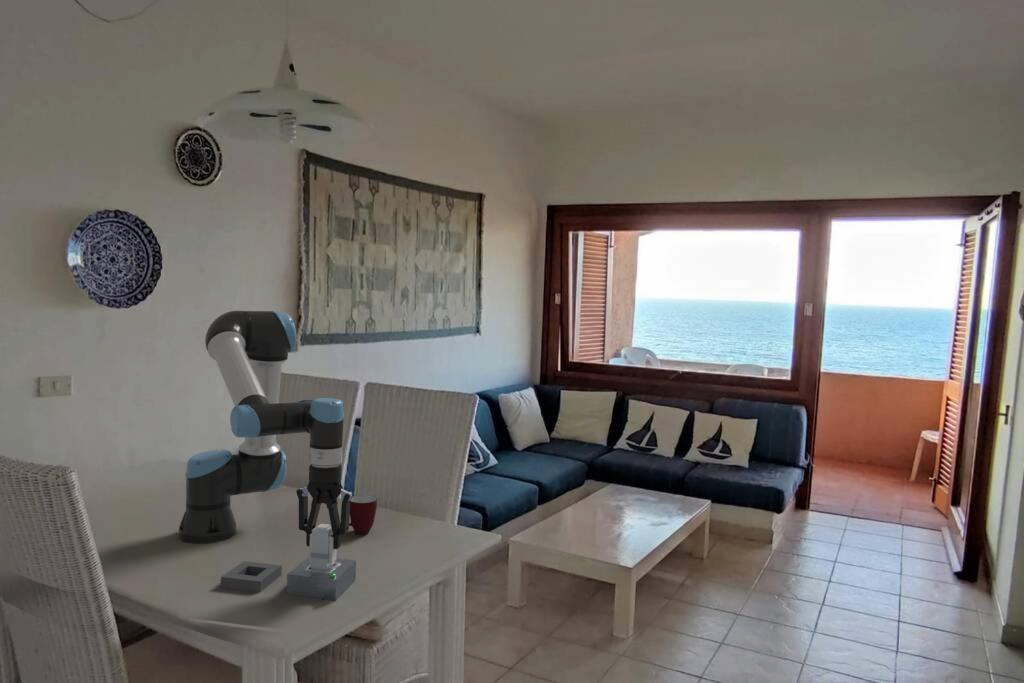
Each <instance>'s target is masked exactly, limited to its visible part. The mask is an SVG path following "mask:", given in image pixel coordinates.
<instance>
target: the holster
mask: <svg viewBox="0 0 1024 683" xmlns="http://www.w3.org/2000/svg"><path fill="white" fill-rule="evenodd" d="M282 567H283V565H282V564H273V563H265V562H255V561H254V562H253V561H247V560H244V561H241V563H239V564H238V565H236V566H235V567H233V568H232V569H230V570H229V571H227V572H226V573H224V574H223V575H222V576H220V588H221V589H222V588H223V589H231V590H238V591H247V592H248V591H249V592H253V593H261V592H263V591H264V590H265V589H267V588H268V587H269V586H270V585H271V584H273V582H275V581H276V580H277V579H279V578H280V577H282V572H283V571H282V570H283V569H282Z"/></svg>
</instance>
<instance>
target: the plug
mask: <svg viewBox="0 0 1024 683" xmlns="http://www.w3.org/2000/svg"><path fill="white" fill-rule="evenodd" d="M332 534H333V533H332V528H331V524H327V523H320V524H318V525H316V526H315V528H314V529H313V530H312V550H311V570H318V571H327V572H329V571H330V570H331V569H332V568H333V567H334V562H333V563H332V564H329V537H330V536H331V535H332Z"/></svg>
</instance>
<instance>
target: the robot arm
mask: <svg viewBox="0 0 1024 683" xmlns="http://www.w3.org/2000/svg"><path fill="white" fill-rule="evenodd" d="M204 342H205V343H204V344H205V348H206V352H207V353H208V356H209V357H210V359H212V360H213V361H215V362H216V365H217V367H218V370H219V372H220V374H221V376H222V380H223V382H224V384H225V386H226V388H227V391H228V393H229V396H230V398H231V400H232V403H233V405H234V407H233V408H232V409H231V412H230V419H229V420H230V422H229V423H230V428H231V432H232V434H233V435H234V436H235V437H236V438H244V441H243V442H242V443H240V445H239V446H238V451H237V452H238V453H236V454H232V451H230V450H229V449H213V450H207V451H203V452H199V453H197V454H194V455H193V456H191V457H190V458H189V459H188V461H187V463H186V470H185V481H186V482H185V511H184V513H183V516H182V518H181V521H180V524H179V526H178V533H177V535H178V539H179V540H181V541H183V542H186V543H191V544H207V543H215V542H219V541H223V540H227V539H229V538H231V537H234V535H236V533H237V522H236V519H235V516H234V513H233V510H232V507H231V497H232V496H236V495H238V496H239V495H246V494H253V493H260V492H263V493H265V492H268V491H273V490H276V489H278V488H279V487H280V486H281V485H282V484H283V483H284V480H285V478H286V474H287V467H288V465H287V456H286V454H285V452H284V451H283V450H282V449H281V446H280V444H278V443H277V436H279V435H289V434H290V435H292V434H304V433H307V434H309V461H308V463H310V465H309V466H308V483H307V486H302V487H300V488H298V489H297V490H296V491H295V492H296V496H297V498H298V529H299V531H303V532H305V534H306V535H305V536H306V539H305V541H306V542H305V543H306V547H309V551H308V553H309V554H308V557H309V561H310V562H311V550H312V530H313V529H314V528H316V527H317V522H318V517H319V514H320V509H321V505H322V504H324V505H326V508H327V509H328V514H329V515H328V516H329V521H330V525H331V528H332V533H333V534H332V535H331V536H330V537H329V564H332V563H333V562H334V561H335V560H336V558H337V556H338V555H337V553H338V549H340V547H341V541H342V540H341V537H342V536H344V535H345V534H347V533H348V531H349V530H350V526H349V523H350V501H351V499H352V497H353V496H354V492H353V491H351V490H350V491H347V490H345V489H344V488H343V485H342V472H343V470H342V468H343V466H342V464H341V463H342V462H343V440H344V439H343V437H344V435H343V433H344V419H345V413H344V401H342V400H341V399H339V398H333V397H320V398H319V397H318V398H314V399H306V398H305V399H304V398H303V399H298V400H297V401H295V402H282V403H281V402H280V403H279V400H280V391H281V389H280V388H281V380H282V379H281V376H282V365H283V364H284V363H285V362H286V361H287V360H288V358H289V357H288V356H289V353H293V352H294V351H295V350H296V347H297V343H298V336H297V330H296V326H295V322H294V320H293V319H292V317H291V315H290V314H288V313H287V312H284V311H283V312H281V311H275V310H230V311H226V312H224V313H222V314H220V316H217V317H216V318H215V319H214V320H213V322H211V323H210V325H209V327H208V329H207V331H206V334H205V338H204ZM309 495H310V496H311V498H312V500H311V505H310V506H311V507H310V512H309ZM339 497H340V500H342V501H341V506H340V507H341V510H340V513H339V508H338V504H339V503H338V498H339ZM339 514H340V515H339Z"/></svg>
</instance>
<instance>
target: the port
mask: <svg viewBox="0 0 1024 683" xmlns="http://www.w3.org/2000/svg"><path fill="white" fill-rule="evenodd" d="M356 572H357V560H356V559H355V560H354V559H346V558H337V557H336V560H335V561H334V567H333V568H332V569H331V570H330V571H329V572H327V571H318V570H311V562H310V561H309V556H307V557H306V558H305V559H304V560H303V561H301V562H300V563H299V564H298V565H296V567H294V568H293V569H292V570H290V571H289V572H288V573H286V594H289V595H290V594H291V595H299V596H306V597H314V598H321V600H324V601H331V602H332V601H333V602H336V601H338V599H339V598H340V597H341V596H342V595H344V594H345V592H346V591H347V590H348V589H349V587H351V585H353V583H355V581H356V575H357V574H356Z"/></svg>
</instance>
